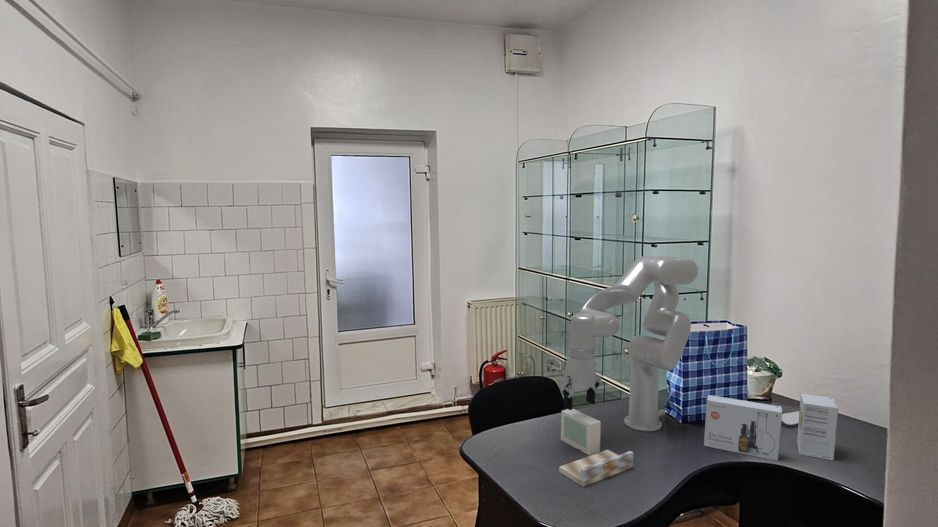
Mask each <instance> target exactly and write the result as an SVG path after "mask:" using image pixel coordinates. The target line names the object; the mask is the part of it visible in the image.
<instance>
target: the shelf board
mask: <svg viewBox="0 0 938 527" xmlns="http://www.w3.org/2000/svg"><path fill="white" fill-rule="evenodd" d="M633 467H634V452H633V451H631V450H629V451H627V452H624V453H623V452H622V453H620V454H617V453H615V452H613V451H611V450H609V449H605V450H603V451H600V452H598V453H595V454H592V455H588V456H586V457H583V458H580V459H577V460H574V461H571V462H569V463H566V464H563V465H560V466H559V467H558V472H559V473H560V474H562V475H564V476H565V477H567V478H569V479H570V480H572V481H573V482H575V483H576V484H578V485H580V486H581V487H587V486H589V485H592V484H594V483H596V482H600V481H602V480H605V479H607V478H609V477H613V476H615V475H617V474H620V473H623V472H625V471H627V470H631V469H632V468H633Z"/></svg>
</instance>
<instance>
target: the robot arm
mask: <svg viewBox="0 0 938 527" xmlns="http://www.w3.org/2000/svg"><path fill="white" fill-rule="evenodd" d="M698 274H699V268H698V265H697V264H696V262H695V261H693V260H692V259H689V258H680V257H673V256H664V255H663V256H648V255H644V256H640V257H638V258H636V259H635V260H634V261H633V262H632V264H631V265H630V266H629V267H628V269H627V270H626V271H625V272H624V274H623V275H621V277H620V278H619V279H618V280H617V282H616V283H615V284H613V285H611V286H608V287H606V288H604V289H602V290H600V291H599V292H597V293H595V294H594V295H593V296H591V297H590V298H589V299H588V300H587V301H586V302H585V304H584V305H583V306H582V307H581V309H580V310H579V312H578V313H575V314H573V315H572V316H571V319H570V320H571V321H570V339H569V343H570V344H569V357H567V359H566V362H565V366H564V367H565V368H564V373H563V374H564V375H563V380H562V381H561V382H559V384H558V388H559V390H560V393H561V394H562V396H563V408H564V409H566V410H567V409H569V410H572V408H573V406H574V405H573V400H574V399H573V397H572V396H573V394H574V393H575V392H579V391H582V390H586V400H585V401H586V402H587V403H588V404H591V405H595V404H596V392H597V391H598V388H599V386H600V383H601V381H602V376H601V375H599V374H597V365H596V358H595V352H596V348H595V343H596V338H599V337H601V338H610V337H612V336H614V335H616V334H617V333H618V332H619V330H620V325H621V324H620V321H619V319H618V317H617V316H615V315H614V314H612V313H608V312H605V311H607V310H608V309H610V308H614V307H619V306H624V305H629V304H632V303H634V302H635V303H636V301H638V299H640V297H641V295H642V294H643V293H644V292H645V290H646V289H647V288H648V287H649V286H650V284H652V283H653V289H654V291H653V294H652V295H653V296H652V299H651V301H650V303H649V306H648V307H647V311H646V314H645V317H644V319H643V324H642V325H643V328H644V330H645V331H646V332H648V333H649V334H652V335H655V336H660V337H662V338H663V337H664V339H660V338H657V337H652V336H649V335H645V334H640V335H635V336H634V337H632V338H631V340H630V341H629V343H628V347H627V348H628V349H627V352H628V359H629V367H630V371H629V372H630V373H629V374H630V376H629V377H630V378H629V396H628V397H629V399H628V400H629V404H628V408H629V409H628V415H627V416H625V417H624V418H623V423H624V424H625V426H626V427H627V428H629V429H632V430H635V431H640V432H649V433H650V432H656V431H659V430H660V429H661V428H662V427H663V425H662V423H663V422H662V421H661V420H660V419H659V418H660V417H661V416H664V415H666V411H665V409H664V408H662V409H658V408H659V389H660V386H659V385H660V376H659V374H660V373H659V371H658V370H662V371H667V372H668V371H672V370H673V369H675V368H676V367H677V366H678V364H679V362H680V359H681V357H682V355H683V352H684V349H685V347H686V344H687V342H688V339H689V337H690V333H691V329H692V324H691V323H692V322H691V319H690V317H689V315H687V314H685V313H684V312H682V311H679V310H676V309H677V306H678V303H679V302H680V301H679V299H680V295H679V294H680V293H679V291H678V288H677V286H678V285H679V286H681V285H682V286H683V285H685V286H686V285H690V284H692V283H693V282H695V280H696V279H697V277H698Z"/></svg>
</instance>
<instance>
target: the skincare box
mask: <svg viewBox="0 0 938 527" xmlns="http://www.w3.org/2000/svg"><path fill="white" fill-rule="evenodd" d="M705 408H706V409H705V421H704V422H705V424H704V435H703V436H704V439H703V446H704V447H706V448H707V447H708V448H712V449H717V450H723V451H728V452H732V453H736V454H741V455H747V456H751V457H752V456H753V457H758V458H763V459H767V460H772V461H777V462H778V461H779V452H780V442H781V430H782V428H781V427H782V426H781V420H782V414H783V408H782V406H781V405H775V404H774V405H773V404H767V403H760V402H757V401H755V402H754V401H750V400H749V401H748V400H742V399H737V398H730V397H724V396H723V397H722V396H718V395H713V394H712V395H711V394H708V395H707V398H706V407H705Z"/></svg>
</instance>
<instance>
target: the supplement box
mask: <svg viewBox="0 0 938 527" xmlns="http://www.w3.org/2000/svg"><path fill="white" fill-rule="evenodd" d="M799 401H800V402H799V411H800V412H799V424H798V427H797V438H796V444H797V449H798V454H799V455H801V456H807V457H813V458H818V459H822V460H823V459H824V460H828V461H834V460H835V458H834V457H835V448H836V447H835V446H836V434H837V432H836V431H837V426H838V418H839V417H838V416H839V407H838V405H837V403H836V400H835V398H834V397H829V396H822V395H815V394H807V393H801V394H800V400H799Z"/></svg>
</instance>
